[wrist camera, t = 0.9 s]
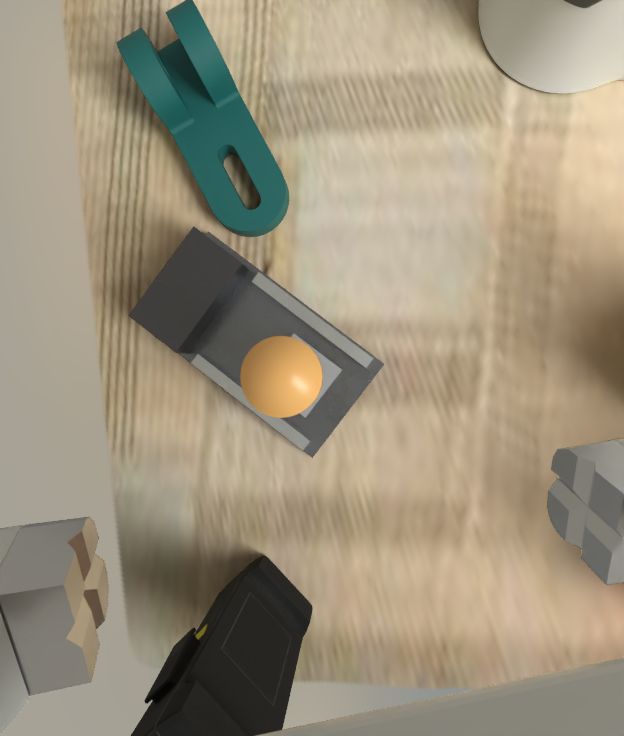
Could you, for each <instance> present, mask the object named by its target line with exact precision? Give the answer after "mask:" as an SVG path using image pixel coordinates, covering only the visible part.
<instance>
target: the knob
mask: <svg viewBox="0 0 624 736" xmlns="http://www.w3.org/2000/svg"><path fill="white" fill-rule="evenodd" d="M341 371H342V369H341V368H339V367H338V366H337V365H336V364H334V363H333V362H332V361H330V360H329V359H328V358H326V357H325V356H324V355H322V354H321V353H320V352H318V351H317V350H316V349H314V348H313V347H312V346H311V345H309V344H308V343H307V342H305V341H304V340H303V339H301V338H300V337H299V336H297V335H296V334H293V335H292V336H291V337H287V336H274V337H270V338H267V339H264V340H262V341H260V342H259V343H257V344H256V345H255V346H254V347H253V348H252V349H251V350H250V351H249V352H248V354H247V355H246V357H245V359H244V361H243V364H242V367H241V374H240V379H241V386H242V390H243V393H244V395H245V397H246V398H247V400H248V401H249V403H250V404H251V405H252V406H253V407H254V408H255V409H257V410H258V411H260V412H261V413H263V414H265V415H268V416H271V417H278V418H284V417H291V416H294V415H297V414H299V413H300V414H301V415H302V416H304V417H305V418H306V417H307V416H308V414H309V413H310V412H311V410H312V409H313V408H314V406H315V405H316V404H317V403H318V401H319V400H320V399H321V397H322V396H323V395H324V393H325V392H326V391H327V389H328V388H329V387H330V385H331V384H332V383H333V381H334V380H335V379H336V378H337V376H338V375H339V374H340V372H341Z"/></svg>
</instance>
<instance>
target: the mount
mask: <svg viewBox="0 0 624 736" xmlns="http://www.w3.org/2000/svg"><path fill="white" fill-rule="evenodd" d="M129 316H130V317H131V318H132V319H133V320H135V321H136V322H137V323H139V324H140V325H141V326H142V327H144V328H145V329H146V330H148V331H149V332H150V333H151V334H153V335H154V336H155V337H157V338H158V339H159V340H160V341H162V342H163V343H164V344H166V345H167V346H168V347H169V348H171V349H172V350H173V351H175V352H176V353H179V354H180V355H181V356H183V357H184V358H185V359H186V360H188V361H189V362H190V363H191V364H192V365H194V366H195V367H196V368H198V369H199V370H200V371H201V372H203V373H204V374H205V375H207V376H208V377H209V378H210V379H212V380H213V381H214V382H216V383H217V384H218V385H219V386H221V387H222V388H223V389H225V390H226V391H227V392H228V393H230V394H231V395H232V396H233V397H235V398H236V399H237V400H239V401H240V402H241V403H242V404H244V405H245V406H246V407H248V408H249V409H250V410H251V411H253V412H254V413H255V414H257V415H258V416H259V417H260V418H262V419H263V420H264V421H266V422H267V423H268V424H269V425H271V426H272V427H273V428H275V429H276V430H277V431H278V432H280V433H281V434H282V435H284V436H285V437H286V438H287V439H289V440H290V441H291V442H292V443H294V444H295V445H296V446H298V447H299V448H300V449H301V450H303V451H304V452H306V453H307V454H308V455H310V456H311V457H312V458H313V456H314V455H315V454H316V452H317V451H318V450H319V449H320V447H321V446H322V445H323V443H324V442H325V441H326V439H327V438H328V437H329V436H330V434H331V433H332V432H333V430H334V429H335V428H336V426H337V425H338V424H339V422H340V421H341V420H342V419H343V417H344V416H345V415H346V413H347V412H348V411H349V409H350V408H351V407H352V405H353V404H354V403H355V402H356V400H357V399H358V398H359V396H360V395H361V394H362V392H363V391H364V390H365V389H366V387H367V386H368V385H369V383H370V382H371V381H372V379H373V378H374V377H375V375H376V374H377V373H378V372H379V370H380V369H381V368H382V366H383V365H384V364H383V363H382V362H381V361H379V360H378V359H377V358H375V357H374V356H373V355H371V354H370V353H369V352H367V351H366V350H365V349H363V348H362V347H361V346H360V345H358V344H357V343H356V342H354V341H353V340H352V339H350V338H349V337H348V336H346V335H345V334H344V333H342V332H341V331H340V330H338V329H337V328H336V327H334V326H333V325H332V324H330V323H329V322H328V321H326V320H325V319H324V318H322V317H321V316H320V315H318V314H317V313H316V312H314V311H313V310H312V309H310V308H309V307H308V306H306V305H305V304H304V303H302V302H301V301H300V300H298V299H297V298H296V297H295V296H293V295H292V294H291V293H289V292H288V291H287V290H285V289H284V288H283V287H281V286H280V285H279V284H277V283H276V282H275V281H273V280H272V279H271V278H269V277H268V276H267V275H265V274H264V273H263V272H261V271H260V270H259V269H257V268H256V267H255V266H253V265H252V264H251V263H249V262H248V261H247V260H245V259H244V258H243V257H241V256H240V255H239V254H237V253H236V252H235V251H233V250H232V249H231V248H229V247H228V246H227V245H226V244H224V243H223V242H222V241H220V240H219V239H218V238H216V237H215V236H214V235H212V234H211V233H210V232H208V233H207V234H206V235H204V234H203V233H202V232H200V231H199V230H198V229H196V228H195V227H193V228H192V229H191V231H190V232H189V234H188V235H187V236H186V238H185V239H184V240H183V242H182V243H181V244H180V246H179V247H178V249H177V250H176V251H175V253H174V254H173V255H172V257H171V258H170V260H169V261H168V262H167V264H166V265H165V266H164V268H163V269H162V270H161V272H160V273H159V275H158V276H157V277H156V279H155V280H154V281H153V283H152V284H151V285H150V287H149V288H148V290H147V291H146V292H145V294H144V295H143V296H142V298H141V299H140V301H139V302H138V303H137V305H136V306H135V307H134V309H133V310H132V311H131V313H130V314H129ZM293 334H296V335H297V336H299V337H300V338H301V339H303V340H304V341H305V342H307V343H308V344H309V345H311V346H312V347H313V348H314V349H316V350H317V351H318V352H320V353H321V354H322V355H324V356H325V357H326V358H328V359H329V360H330V361H332V362H333V363H334V364H336V365H337V366H338V367H339V368H341V369H342V371H341V372H340V374H339V375H338V376H337V378H336V379H335V380H334V381H333V383H332V384H331V385H330V387H329V388H328V389H327V391H326V392H325V393H324V395H323V396H322V397H321V399H320V400H319V401H318V403H317V404H316V405H315V406H314V408H313V409H312V410H311V412H310V413H309V414H308V416H307V417H306V418H305V417H304V416H302V415H301V414H300V413H299V414H297V415H294V416H291V417H284V418H278V417H271V416H268V415H265V414H263V413H261V412H260V411H258V410H257V409H255V408H254V407H253V406H252V405H251V404H250V403H249V401H248V400H247V398H246V397H245V395H244V393H243V390H242V386H241V379H240V374H241V367H242V364H243V361H244V359H245V357H246V355H247V354H248V352H249V351H250V350H251V349H252V348H253V347H254V346H255V345H256V344H257V343H259V342H260V341H262V340H264V339H267V338H270V337H274V336H287V337H291V336H292V335H293Z"/></svg>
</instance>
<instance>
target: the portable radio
mask: <svg viewBox="0 0 624 736" xmlns="http://www.w3.org/2000/svg"><path fill="white" fill-rule="evenodd" d="M311 614H312V605H311V604H310V603H309V602H308V600H307V599H306V598H305V597H304V596H303V595H302V594H301V593H300V592H299V591H298V590H297V589H296V587H295V586H294V585H293V584H292V583H291V582H290V581H289V580H288V579H287V578H286V577H285V576H284V575H283V573H282V572H281V571H280V570H279V569H278V568H277V567H276V566H275V565H274V564H273V563H272V562H271V560H270V559H269V558H268V557H266V556H263V557H261V558H259V559H256V560H255V561H253V562H252V563H251V564H249V565H248V566H247V567H246V568H245V569H244V570H243V571H242V572H241V573H240V574H239V575H238V576H237V577H236V578H235V579H234V580H233V581H232V582H231V583H230V584H228V585H227V586H226V587H225V588H224V589H223V590H222V591H221V592H220V593H219V594H218V596H217V598H216V600H215V601H214V603H213V605H212V607H211V608H210V610H209V612H208V613H207V615H206V617H205V618H204V620H203V622H202V623H201V625H200V627H199V628H198V630H197V631H196V629H195V628H193V629H192V630H190V631H189V632H188V633H187V634H186V635H185V636H184V637H183V638H182V639H181V640H180V641H179V642H178V643H177V644H176V645H175V646H174V647H173V649H172V651H171V653H170V655H169V657H168V658H167V660H166V662H165V664H164V666H163V668H162V669H161V671H160V673H159V675H158V677H157V679H156V680H155V682H154V684H153V686H152V688H151V690H150V692H149V693H148V695H147V697H146V699H145V703H148V702H150V701H151V700H153V701H152V703H151V705H150V706H149V707H148V709H147V711H146V712H145V714H144V715H143V717H142V719H141V720H140V722H139V723H138V725H137V727H136V728H135V730H134V731H133V733H132V734H131V736H256V735H260V734H265V733H270V732H274V731H279V730H282V728H283V723H284V719H285V714H286V710H287V706H288V701H289V697H290V692H291V688H292V683H293V679H294V674H295V670H296V665H297V661H298V656H299V652H300V648H301V643H302V639H303V637H304V635H305V633H306V631H307V628H308V626H309V623H310V619H311ZM195 631H196V633H195ZM194 633H195V634H194Z"/></svg>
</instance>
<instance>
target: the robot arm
mask: <svg viewBox="0 0 624 736" xmlns="http://www.w3.org/2000/svg"><path fill="white" fill-rule="evenodd" d="M478 17H479V26H480V31H481V35H482V38H483V41H484V43H485V46H486V48H487V50H488V52H489V53H490V55H491V56H492V58H493V59H494V61H495V62H496V63H497V64H498V66H499V67H500V68H501V69H502V70H503V71H504V72H506V73H507V74H508V75H509V76H511V77H512V78H513V79H515V80H516V81H518V82H520V83H522V84H524V85H526V86H528V87H531V88H533V89H536V90H540V91H544V92H550V93H576V92H582V91H586V90H590V89H593V88H596V87H598V86H601V85H604V84H606V83H609V82H612V81H616V80H624V0H479V8H478ZM551 470H552V471H553V473H554V474H555V476H556V477H557V480H556V481H555V482H554V484H553V485H552V486H551V488H550V489H549V490H548V501H547V508H548V512H549V516H550V520H551V522H552V524H553V526H554V528H555V530H556V531H557V532H558V534H559V535H560V536H561V537H562V538H563V539H564V540H565V541H566V542H569V543H571V544H573V545H575V546H578V547H580V548H581V559H582V560H583V561H584V562H585V563H586V564H587V565H588V566H589V567H590V568H591V569H592V570H593V571H594V572H595V573H596V575H597V576H598V577H599V578H600V579H601V580H602V581H603V582H604V583H605V584H606V585H609V584H616V583H622V582H624V438H619V439H614V440H608V441H605V442H599V443H593V444H587V445H581V446H575V447H569V448H563V449H557V451H556V453H555V455H554V456H553V460H552V467H551ZM98 539H99V538H98V534H97V531H96V527H95V523H94V521H93V520H92V519H91V518H90V517H84V518H77V519H68V520H60V521H52V522H44V523H36V524H29V525H25V526H22V525H20V526H13V527H6V528H0V735H1V734H2V733H3V731H4V730H5V729H6V728H7V726H8V725H9V724H10V723H11V722H12V720H13V719H14V718H15V717H16V715H17V714H18V713H19V712H20V710H21V709H22V708H23V707H24V706H25V704H26V703H27V702H28V701H29V700H30V698H29V696H30V695H35V694H39V693H44V692H48V691H53V690H58V689H62V688H67V687H72V686H76V685H80V684H85V683H89V682H91V681H92V677H93V672H94V668H95V663H96V659H97V655H98V650H99V646H100V643H99V639H98V635H97V631H96V629H97V628H98V627H99V626H100V625H101V624H102V623H103V622H104V621H105V617H106V612H107V607H108V580H107V572H106V567H105V563H104V560H103V559H101V558H100V557H99V556H98V555H96V554H95V550H96V546H97V542H98ZM256 736H624V658H619V659H614V660H609V661H605V662H600V663H595V664H590V665H586V666H581V667H576V668H571V669H567V670H562V671H557V672H552V673H547V674H543V675H538V676H533V677H529V678H524V679H519V680H514V681H510V682H505V683H500V684H496V685H491V686H486V687H482V688H477V689H472V690H467V691H463V692H458V693H453V694H449V695H444V696H439V697H434V698H430V699H425V700H420V701H416V702H411V703H406V704H402V705H397V706H392V707H387V708H383V709H379V710H373V711H369V712H364V713H359V714H355V715H350V716H345V717H341V718H336V719H331V720H326V721H322V722H317V723H312V724H307V725H303V726H299V727H293V728H289V729H284V730H279V731H274V732H270V733H265V734H260V735H256Z"/></svg>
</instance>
